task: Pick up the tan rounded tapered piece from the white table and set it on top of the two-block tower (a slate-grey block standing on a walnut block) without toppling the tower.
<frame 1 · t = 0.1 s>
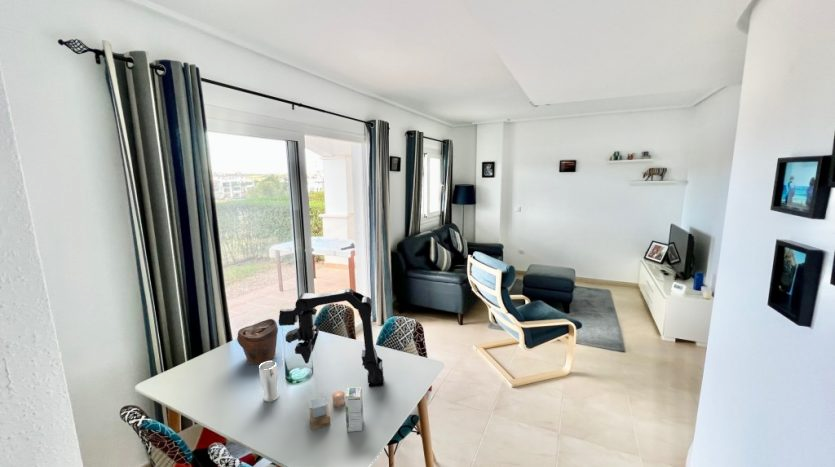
hand: (309, 357, 151), 15 cm above the table, fingers open, 9 cm apart
slate block: (319, 411, 134), point 4 cm above the table
walnut base block: (320, 421, 135), on the table
syrup box: (355, 426, 132), on the table
tan rounded tapered piece: (338, 403, 144), on the table
brown plant pot: (261, 357, 178), on the table
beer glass: (271, 397, 148), on the table
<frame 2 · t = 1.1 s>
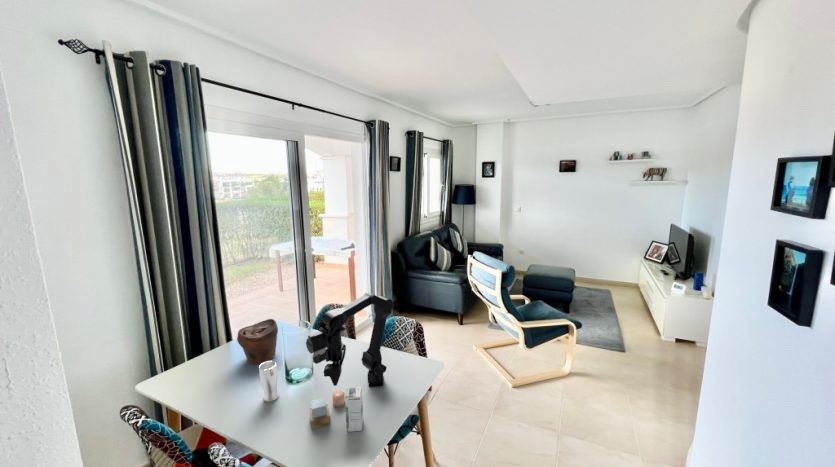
hand: (337, 378, 142), 11 cm above the table, fingers open, 9 cm apart
slate block: (319, 412, 134), point 4 cm above the table, touching walnut base block
walnut base block: (320, 421, 135), on the table, touching slate block
everything else where it was.
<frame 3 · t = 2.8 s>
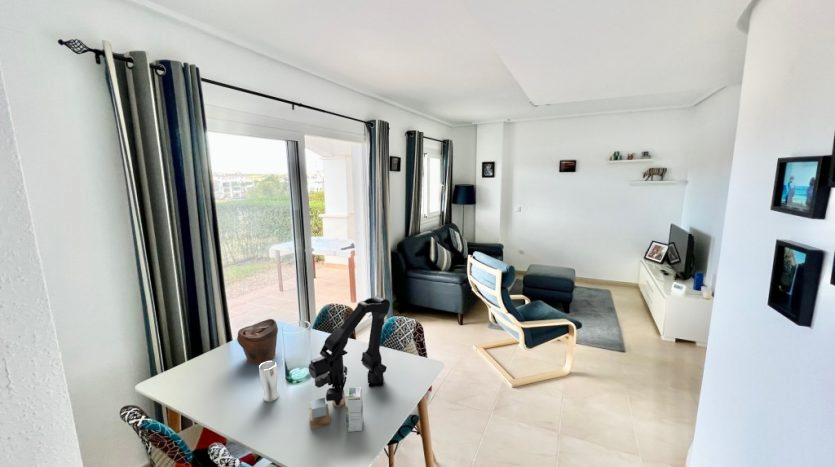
hand: (338, 400, 144), 1 cm above the table, fingers closed on tan rounded tapered piece, 5 cm apart
tan rounded tapered piece: (338, 403, 144), on the table, touching gripper
everything else where it was.
when the fingers open (10 cm above the table, at t = 5.3 s): tan rounded tapered piece drops 1 cm, resting on slate block.
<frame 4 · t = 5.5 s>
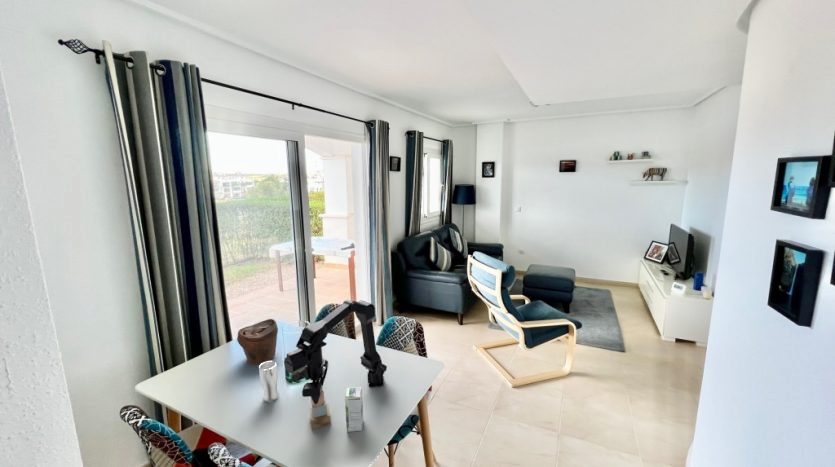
hand: (317, 396, 132), 10 cm above the table, fingers open, 7 cm apart
slate block: (319, 411, 134), point 4 cm above the table, touching tan rounded tapered piece, walnut base block
tan rounded tapered piece: (318, 402, 133), point 8 cm above the table, touching slate block
everything else where it was.
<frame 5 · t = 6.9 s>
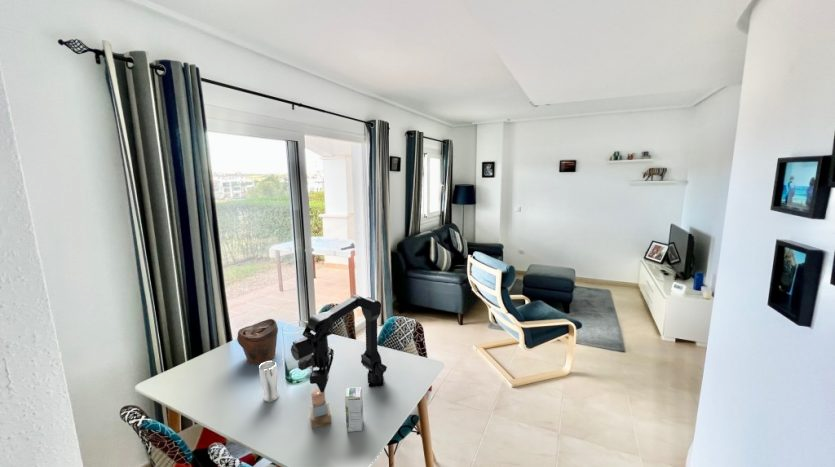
hand: (324, 384, 136), 12 cm above the table, fingers open, 9 cm apart
nothing on the table moved.
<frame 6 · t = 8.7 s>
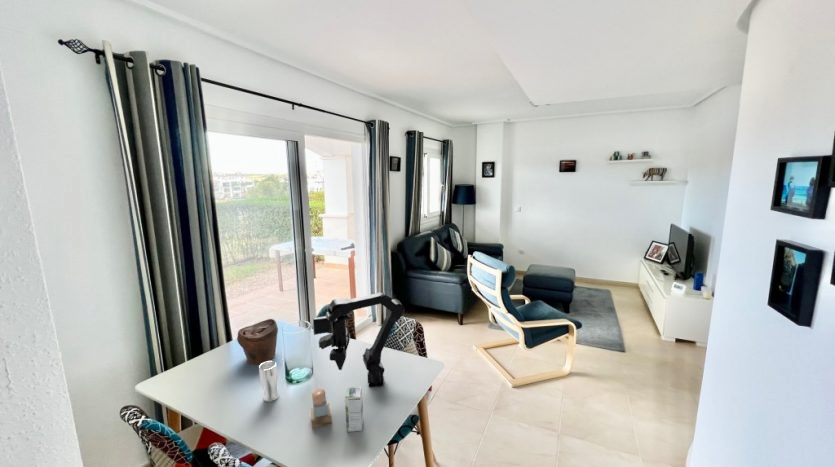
hand: (341, 363, 149), 13 cm above the table, fingers open, 9 cm apart
nothing on the table moved.
at the end: tan rounded tapered piece 0.2 cm off-centre on the walnut base block, point 8.0 cm above the walnut base block's base; slate block 0.3 cm off-centre on the walnut base block, point 4.0 cm above the walnut base block's base; tan rounded tapered piece tilted 0° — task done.
